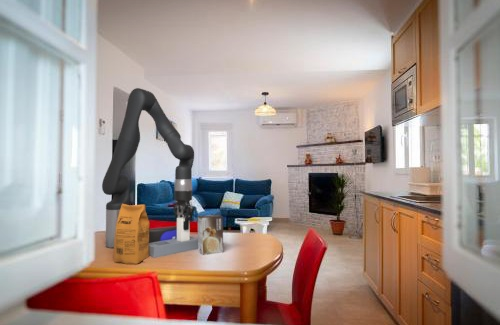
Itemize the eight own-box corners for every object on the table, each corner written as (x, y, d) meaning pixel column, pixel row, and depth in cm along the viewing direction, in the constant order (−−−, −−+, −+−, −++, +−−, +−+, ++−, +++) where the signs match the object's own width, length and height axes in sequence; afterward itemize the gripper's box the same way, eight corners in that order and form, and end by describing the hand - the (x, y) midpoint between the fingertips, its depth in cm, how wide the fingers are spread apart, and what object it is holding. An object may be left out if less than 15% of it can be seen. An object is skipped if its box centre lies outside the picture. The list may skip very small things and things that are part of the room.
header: (144, 256, 125) (144, 243, 125) (189, 247, 139) (189, 236, 139) (154, 260, 118) (154, 247, 118) (199, 250, 132) (199, 239, 133)
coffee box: (218, 251, 131) (217, 214, 132) (223, 254, 126) (223, 215, 126) (197, 254, 127) (197, 215, 128) (202, 257, 122) (202, 217, 122)
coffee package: (127, 256, 125) (128, 202, 126) (152, 258, 121) (153, 203, 122) (109, 262, 116) (109, 204, 117) (135, 265, 112) (135, 205, 112)
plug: (176, 241, 132) (176, 217, 133) (184, 239, 135) (184, 217, 135) (181, 242, 129) (181, 218, 130) (189, 241, 132) (189, 218, 132)
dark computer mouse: (145, 253, 130) (145, 230, 130) (142, 250, 134) (142, 229, 134) (181, 247, 139) (181, 226, 139) (178, 245, 143) (178, 225, 143)
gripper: (167, 189, 136) (167, 227, 135) (184, 190, 125) (184, 232, 125) (182, 188, 141) (182, 225, 140) (199, 189, 130) (199, 230, 130)
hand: (183, 228), depth 132 cm, fingers closed on plug, 4 cm apart
